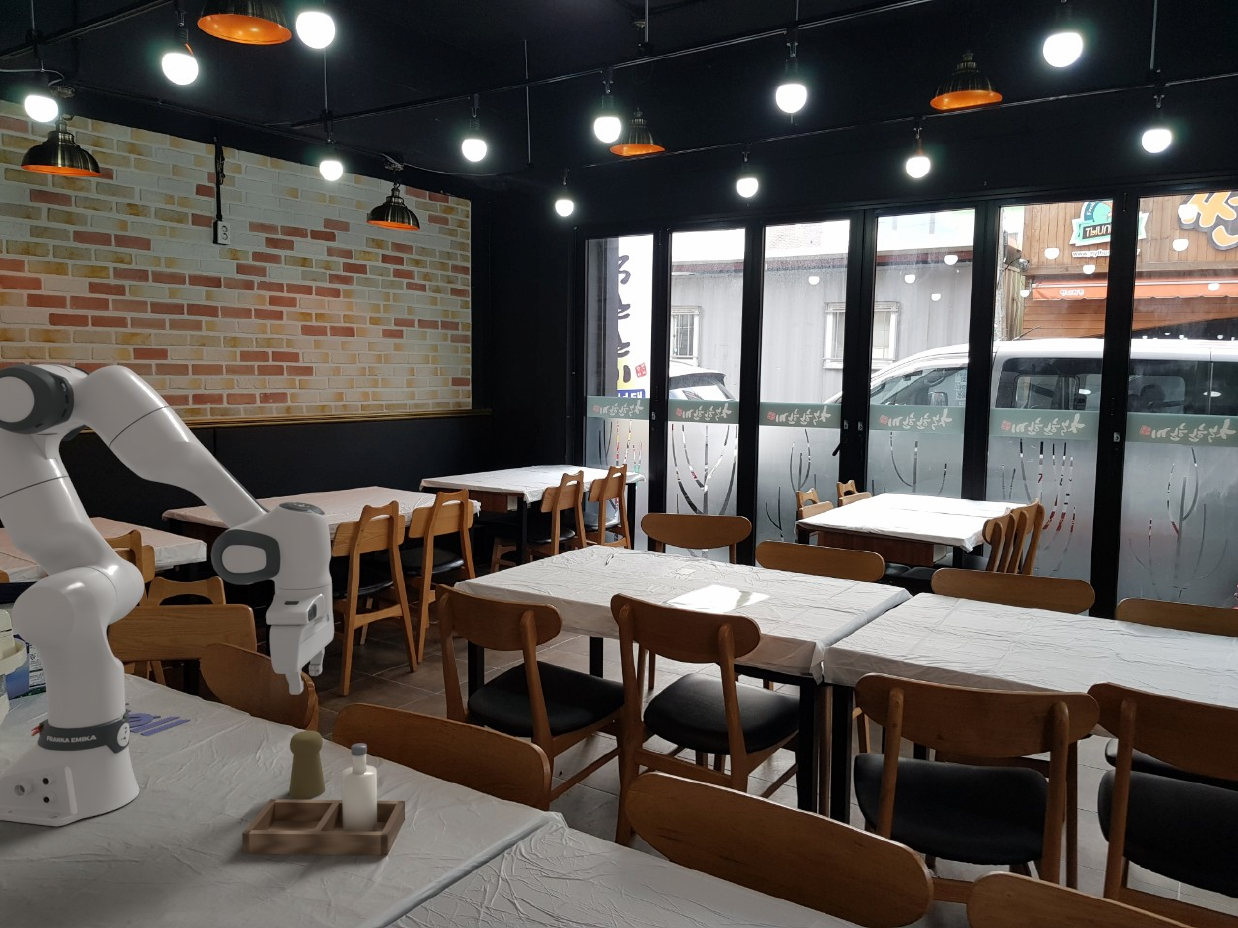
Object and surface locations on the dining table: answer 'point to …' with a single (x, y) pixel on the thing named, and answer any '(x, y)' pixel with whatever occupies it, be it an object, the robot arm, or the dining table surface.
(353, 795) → the cruet bottle
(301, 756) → the olive green pepper mill
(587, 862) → the dining table surface
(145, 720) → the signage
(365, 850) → the condiment caddy
